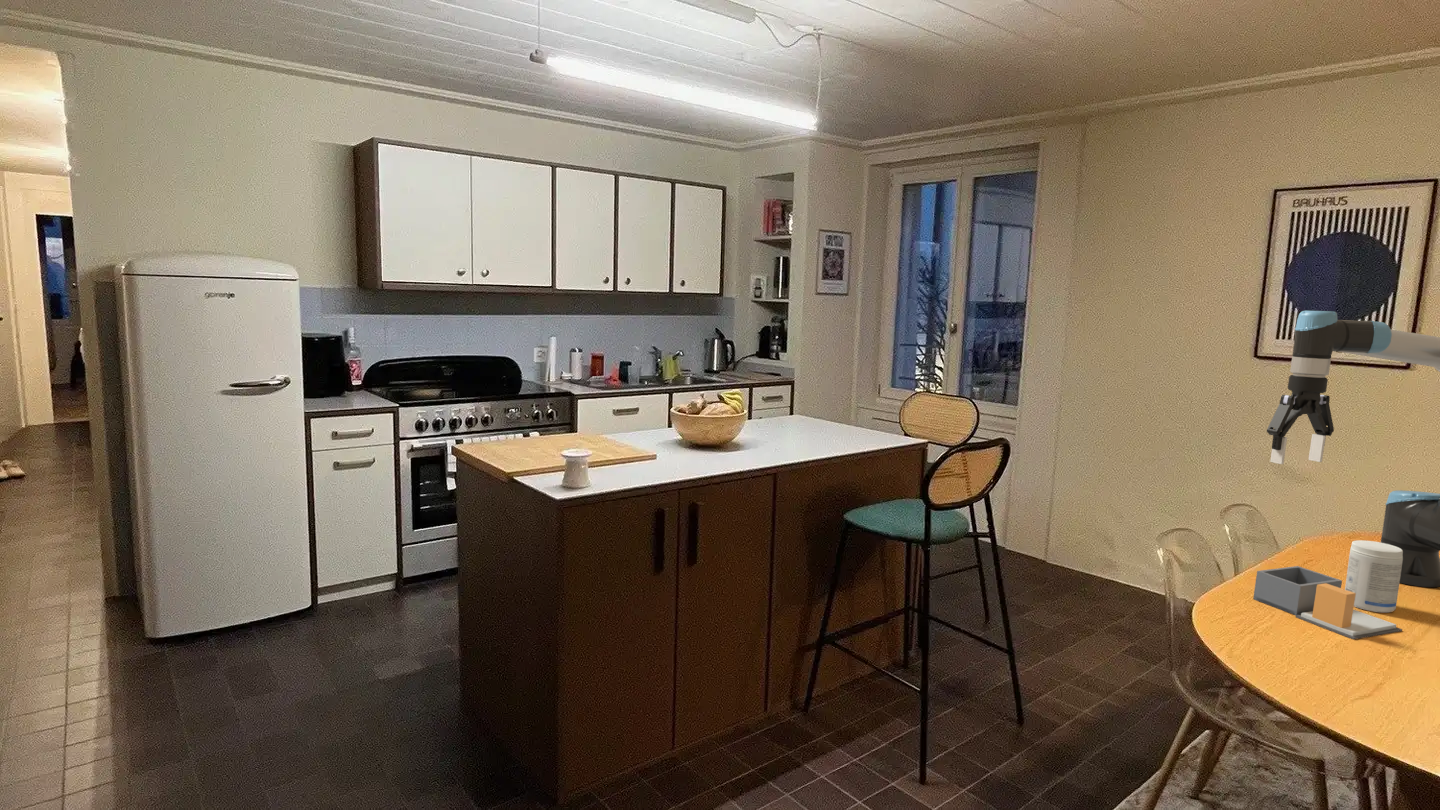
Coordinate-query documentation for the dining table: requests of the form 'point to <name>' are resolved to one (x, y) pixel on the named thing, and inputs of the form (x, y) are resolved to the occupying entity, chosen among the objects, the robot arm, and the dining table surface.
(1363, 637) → the mat
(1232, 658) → the dining table surface
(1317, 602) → the lid
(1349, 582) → the supplement tub
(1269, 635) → the dining table surface
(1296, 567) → the box
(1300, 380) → the robot arm
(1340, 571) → the dining table surface
